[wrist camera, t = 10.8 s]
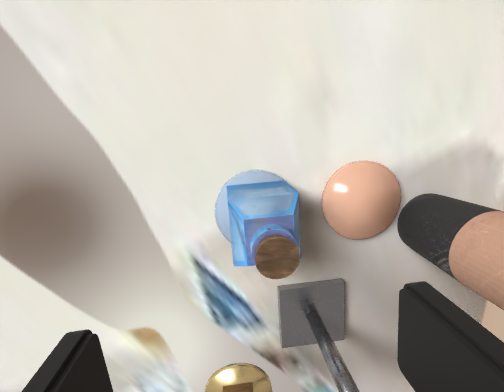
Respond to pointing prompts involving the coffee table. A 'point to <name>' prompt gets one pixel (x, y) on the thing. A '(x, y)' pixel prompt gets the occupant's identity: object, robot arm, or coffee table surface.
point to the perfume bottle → (265, 227)
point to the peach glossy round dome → (361, 199)
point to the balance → (298, 336)
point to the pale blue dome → (241, 178)
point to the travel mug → (458, 241)
